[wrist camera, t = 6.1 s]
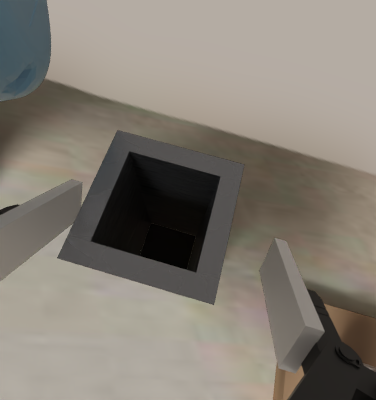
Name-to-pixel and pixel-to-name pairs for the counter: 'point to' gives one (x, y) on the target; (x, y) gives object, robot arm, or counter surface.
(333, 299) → the counter surface
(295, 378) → the drive block
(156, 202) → the grey square tube
